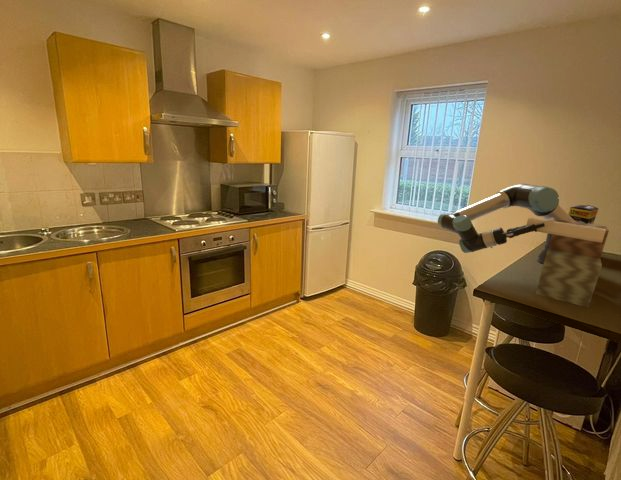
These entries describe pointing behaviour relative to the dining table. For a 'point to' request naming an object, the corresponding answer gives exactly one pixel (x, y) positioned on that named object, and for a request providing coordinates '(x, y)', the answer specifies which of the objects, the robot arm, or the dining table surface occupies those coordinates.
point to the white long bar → (571, 230)
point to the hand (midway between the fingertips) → (553, 221)
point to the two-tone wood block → (571, 268)
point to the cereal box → (583, 213)
